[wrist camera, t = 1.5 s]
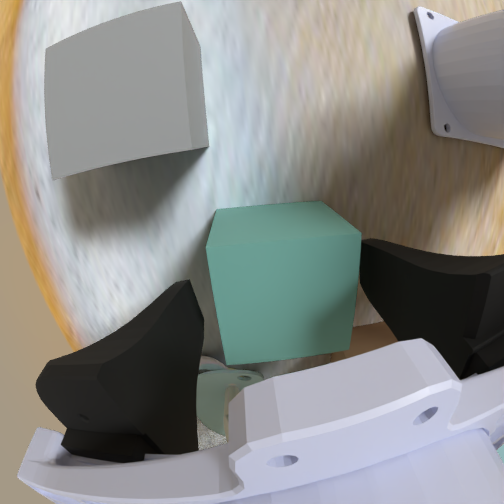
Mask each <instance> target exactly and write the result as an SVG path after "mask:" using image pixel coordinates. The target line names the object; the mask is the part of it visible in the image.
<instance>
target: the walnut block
mask: <svg viewBox="0 0 504 504" xmlns="http://www.w3.org/2000/svg"><path fill="white" fill-rule="evenodd" d="M396 342H398V340H397V339H396V337H395V336H394V334H393V333H392V331H391V330H390V328H389V327H388V326H387V324H386V323H385V322H384V321H383V322H378V323H373V324H368V325H363V326H357V327H353V328H352V334H351V341H350V347H349V350H345V351H339V352H334V353H331V360H330V363H333V362H336V361H340V360H343V359H347V358H350V357H353V356H357V355H360V354H363V353H366V352H369V351H372V350H375V349H378V348H381V347H384V346H387V345H390V344H393V343H396Z"/></svg>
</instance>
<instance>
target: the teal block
mask: <svg viewBox="0 0 504 504" xmlns="http://www.w3.org/2000/svg"><path fill="white" fill-rule="evenodd" d="M361 236H362V233H361V232H360V231H358V230H357V229H356V228H355V227H354V226H352V225H351V224H350V223H349V222H347V221H346V220H345V219H344V218H342V217H341V216H340V215H339V214H337V213H336V212H335V211H334V210H332V209H331V208H330V207H328V206H327V205H326V204H325V203H323V202H322V201H309V202H294V203H281V204H269V205H257V206H246V207H236V208H226V209H217V210H216V213H215V217H214V220H213V223H212V227H211V230H210V234H209V237H208V241H207V245H206V253H207V260H208V266H209V272H210V278H211V284H212V290H213V296H214V302H215V307H216V313H217V319H218V324H219V329H220V335H221V340H222V345H223V350H224V355H225V360H226V365H236V364H249V363H260V362H269V361H278V360H287V359H294V358H302V357H309V356H315V355H322V354H328V353H334V352H339V351H345V350H349V347H350V341H351V334H352V328H353V321H354V313H355V305H356V296H357V287H358V277H359V266H360V252H361Z"/></svg>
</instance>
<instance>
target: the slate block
mask: <svg viewBox="0 0 504 504" xmlns="http://www.w3.org/2000/svg"><path fill="white" fill-rule="evenodd" d="M44 94H45V119H46V133H47V143H48V152H49V160H50V167H51V173H52V179H53V180H56V179H59V178H63V177H66V176H70V175H73V174H77V173H80V172H84V171H88V170H92V169H96V168H100V167H104V166H108V165H113V164H117V163H122V162H126V161H131V160H136V159H141V158H146V157H151V156H157V155H162V154H168V153H174V152H181V151H187V150H193V149H198V148H203V147H209V139H208V129H207V119H206V108H205V97H204V86H203V74H202V61H201V48H200V44H199V42H198V40H197V37H196V35H195V33H194V30H193V28H192V26H191V23H190V21H189V19H188V16H187V14H186V12H185V9H184V7H183V5H182V2H176V3H171V4H166V5H162V6H157V7H153V8H149V9H146V10H142V11H138V12H135V13H132V14H128V15H125V16H122V17H119V18H116V19H113V20H110V21H107V22H105V23H102V24H99V25H97V26H94V27H91V28H89V29H87V30H84V31H82V32H80V33H77V34H75V35H73V36H71V37H68V38H66V39H64V40H62V41H60V42H58V43H56V44H54V45H52V46H50V47H48V48H46V53H45V78H44Z"/></svg>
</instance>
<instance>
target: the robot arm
mask: <svg viewBox="0 0 504 504" xmlns="http://www.w3.org/2000/svg"><path fill="white" fill-rule="evenodd" d="M414 15H415V19H416V23H417V28H418V32H419V37H420V41H421V46H422V52H423V57H424V63H425V70H426V77H427V85H428V94H429V105H430V118H431V129H432V131H433V133H434V134H435V135H437V136H443V137H450V138H456V139H462V140H467V141H473V142H478V143H483V144H487V145H492V146H496V147H500V148H504V10H500V11H496V12H492V13H488V14H485V15H481V16H478V17H475V18H472V19H468V20H465V21H462V22H458V21H455V20H453V19H451V18H449V17H446V16H444V15H442V14H439V13H437V12H434V11H431V10H429V9H426V8H423V7H420V6H419V7H416V8H415V9H414ZM427 15H428V16H429V17H430V18H429V17H428V16H427ZM444 125H446V131H445V129H444ZM359 272H360V284H361V286H362V288H363V290H364V292H365V294H366V296H367V298H368V299H369V301H370V302H371V304H372V305H373V307H374V308H375V309H376V311H377V312H378V313H379V315H380V316H381V317H382V319H383V320H384V322H385V323H386V324H387V326H388V327H389V328H390V330H391V331H392V333H393V334H394V336H395V337H396V339H397V340H398V342H396V343H393V344H390V345H387V346H384V347H381V348H378V349H375V350H372V351H369V352H366V353H363V354H360V355H357V356H353V357H350V358H347V359H343V360H340V361H336V362H333V363H329V364H325V365H321V366H318V367H314V368H310V369H306V370H301V371H297V372H293V373H288V374H284V375H279V376H274V377H271V378H268V379H266V380H263V381H261V382H258V383H255V384H252V385H250V386H247V387H245V388H243V389H242V390H241V391H240V392H239V393H238V394H237V395H236V396H235V397H234V398H233V399H232V400H231V401H230V402H229V424H228V426H229V443H226V444H222V445H219V446H215V447H211V448H207V449H203V450H199V449H198V435H197V411H196V397H197V379H198V372H199V366H200V360H201V353H202V347H203V340H204V318H203V315H202V312H201V310H200V307H199V304H198V302H197V299H196V296H195V293H194V291H193V288H192V285H191V282H190V279H189V280H184V281H180V282H176V283H174V284H173V285H171V286H170V287H169V288H168V289H167V290H165V291H164V292H163V293H162V294H161V295H160V296H159V297H158V298H157V299H156V300H154V301H153V302H152V303H151V304H150V305H149V306H148V307H147V308H145V309H144V310H143V311H142V312H141V313H139V314H138V315H137V316H136V317H135V318H133V319H132V320H131V321H130V322H128V323H127V324H125V325H124V326H123V327H121V328H120V329H118V330H117V331H115V332H113V333H112V334H110V335H108V336H107V337H105V338H103V339H101V340H100V341H98V342H96V343H94V344H92V345H90V346H88V347H85V348H83V349H81V350H79V351H76V352H74V353H71V354H68V355H65V356H62V357H59V358H57V359H53V360H50V361H49V362H48V363H47V364H46V366H45V367H44V369H43V370H42V372H41V374H40V375H39V377H38V379H37V381H36V389H37V392H38V394H39V397H40V398H41V400H42V401H43V403H44V404H45V405H46V406H47V407H48V409H49V410H50V411H51V412H52V413H53V414H54V415H55V416H56V417H57V418H58V420H59V421H61V422H62V424H63V425H64V426H65V427H66V428H67V430H66V433H65V435H63V434H62V433H60V432H58V431H55V430H50V429H45V428H41V427H38V428H37V429H36V431H35V434H34V436H33V438H32V440H31V442H30V445H29V447H28V449H27V452H26V454H25V456H24V459H23V461H22V464H21V466H20V469H19V471H18V474H17V477H18V479H20V480H21V481H22V482H24V483H25V484H27V485H28V486H29V487H31V488H32V489H34V490H35V491H37V492H38V493H40V494H41V495H43V496H44V497H46V498H48V499H49V500H51V501H53V502H54V503H56V504H504V464H503V462H502V460H501V458H500V456H499V455H498V453H497V451H496V450H497V449H498V448H499V447H501V446H502V445H503V444H504V254H502V255H495V256H453V255H444V254H437V253H431V252H426V251H422V250H417V249H413V248H409V247H405V246H402V245H398V244H394V243H391V242H387V241H383V240H379V239H372V238H370V239H366V240H362V241H361V252H360V266H359Z"/></svg>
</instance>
